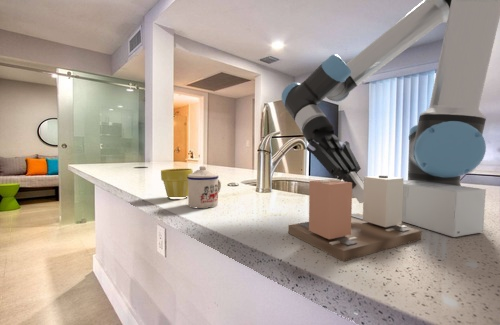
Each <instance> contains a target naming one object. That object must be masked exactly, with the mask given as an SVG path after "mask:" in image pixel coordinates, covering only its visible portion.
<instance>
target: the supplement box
mask: <svg viewBox="0 0 500 325" xmlns="http://www.w3.org/2000/svg"><path fill="white" fill-rule="evenodd" d="M486 191H487V189H486V188H485V189H484V188H479V187H473V186H472V187H471V186H464V185H461V186H457V185H449V184H441V183H434V182H426V181H418V180H408V179H407V180H403V206H402V223H406V224H410V225H413V226H416V227H419V228H422V229H426V230H429V231H432V232H435V233H439V234H442V235H446V236H449V237H452V238H456V237H457V238H458V237H462V236H467V235H474V234H480V233H484V228H485V227H484V225H485V222H484V221H485V206H486V204H485V203H486V193H487V192H486Z"/></svg>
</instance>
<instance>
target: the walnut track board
mask: <svg viewBox="0 0 500 325" xmlns="http://www.w3.org/2000/svg"><path fill="white" fill-rule="evenodd" d="M287 228H288V229H287V230H288V231H287V232H288V234H290V235H292V236H294V237H296V238H298V239H300V240H301V241H303V242H305V243H307V244H309V245H311V246H313V247H315V248H317V249H319V250H321V251H323V252H325V253H327V254H328V255H330V256H333V257H334V258H336V259H338V260H340V261H342V262H347V261H349V260H353V259H357V258H360V257H363V256H367V255H370V254H374V253H378V252H380V251H384V250H389V249H391V248H394V247H398V246H403V245H405V244H409V243H413V242H417V241H419V240H421V239H422V230H420V229H416V228H412V227H409V226H407V225H404V224H403V225H402V224H398V225H393V226H389V227H383V226H380V225H376V224H373V223H370V222H366V221H363V213H358V212H356V213H351V235H347V236H343V237H338V238H334V239H327V238H325V237H322V236H320V235H318V234H316V233H313V232H311V231H309V221H304V222H300V223H292V224H288V227H287Z"/></svg>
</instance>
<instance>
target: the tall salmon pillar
mask: <svg viewBox="0 0 500 325" xmlns="http://www.w3.org/2000/svg"><path fill="white" fill-rule="evenodd" d="M308 185H309V192H308V195H309V196H308V202H309V203H308V222H309V231H311V232H313V233H316V234H318V235H320V236H322V237H325V238H327V239H334V238H338V237H343V236H347V235H351V214H353V213H352V208H353V207H352V206H353V201H352V200H353V193H352V183H351V182H345V181H343V180H341V181H340V180H339V179H337V178H331V179H330V178H329V179H320V180H319V179H317V180H316V179H315V180H309V184H308Z"/></svg>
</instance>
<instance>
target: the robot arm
mask: <svg viewBox="0 0 500 325" xmlns="http://www.w3.org/2000/svg"><path fill="white" fill-rule="evenodd" d="M499 22H500V0H423V1H421V2H420V3H419V4H418V5H416V6H415V7H414V8H413V9H411V11H409V12H408V13H406V14H405V15H404V16H403V17H402V18H400V19H399V20H398V21H397V22H396V23H395V24H393V25H392V26H390V28H388V29H387V30H386V31H384V32H383V33H382V34H381V35H379V37H377V38H376V39H374V41H372V42H371V43H370V44H369V45H367V46H366V47H365V48H364V49H362V50H361V51H360V52H359V53H357V55H355V56H354V57H352V58H351V59H349V61H348V62H347V63H346V62H345V61H344V60H343V59H342V58H341V57H340V56H339V55H338V54H336V53H333V54H331V55H330V56H328V57H327V58H326V60H324V61H322V62H321V64H320V65H319V66H318V67H317V68H316V69H314V71H313V72H312V73H311V74H310V75H309V76H308V77H307V78H306V79H305V80H303V82H301V83H300V82H292V83H290V84H288V85H286V86H285V87H284V88H283V90H282V92H281V98H280V99H281V101H282V103H283V105H284V108H285V109H286V111H287V112H288V113H289V115H290V116H291V118H292V120H294V123H295V124H296V125H297V127H298V129H299V130H300V132H301V133H302V136H304V138H305V140H306V141H307V143H308V144H307V146H306V147H305V148H306V149H305V150H307V151H308V152H309V153H311V154H312V155H313V156H314V157H315V159H316V160H318V162H320V164H321V165H322V166H323V167H324V168H325V170H326V171H327V172H328V173H329V174H330V175H331V176H332V177H335V178H336V177H337V178H336V179H339V180H340V181H345V182H351V183H352V195H353V196H354V197H355V199H356V200H357V201H358V203H359V204H363V189H364V180H363V179H362V178H361V177H360V176H359V175H358V173H359V171H360V170H362V168H361V165H360V164H359V162H358V160H357V158H356V157H355V155H354V153H353V150H352V149H351V145H350V142H349V141H347V140H345V141H343V142H342V141H340V138H339V136H338V137H337V135H335V128H334V125H333V124H332V123H331V122H332V121H330V120H329V119H328V118H327V115H326V114H325V113H324V111H322V109H321V108H320V107H319V106H318V104H320V103H322V102H323V100H324V99H328V100H329V101H331V102H336V103H337V102H338V103H339V102H342V101H344V100H346V98H348V96H349V95H350V92H351V91H353V90H354V89H355V88H357V87H358V86H360V85H361V83H363V82H365V81H366V80H367V79H369V77H371V76H372V75H374V74H375V73H377V72H378V71H379V70H380V69H381V68H383V67H385V65H388V63H390V62H391V61H392V60H393V59H395V58H397V57H398V56H399V55H400V54H401V53H404V51H405V50H408V48H410V47H411V46H412V45H414V44H415V43H416V42H418V41H419V40H420V39H422V38H423V37H424V36H426V35H427V34H428V33H430V32H431V31H432V30H433V29H435V28H437V27H438V26H439V25H440V24H445V23H446V26H445V31H444V34H443V41H442V45H441V50H440V54H439V59H438V64H437V69H436V74H435V78H434V83H433V89H432V92H431V93H432V94H431V98H430V102H429V106H428V108H427V109H426V110H424V111H423V112H422V113H420V114H419V117H418V121H417V124H416V125H414V126H412V127H411V128H410V130H409V135H408V140H409V141H408V143H409V144H408V165H407V166H408V167H407V168H408V170H407V171H408V172H407V180H418V181H426V182H434V183H441V184H449V185H457V186H462V185H461V176H464V175H466V174H468V173H470V172H472V171H474V170H475V169H476V168H478V167H479V165H480V164H481V163H482V161H483V159H484V157H485V155H486V152H487V150H486V149H487V146H486V140H485V137H484V136H483V133H484V129H485V125H486V121H487V117H486V116H485V114H483V112H482V111H480V109H479V108H480V105H481V101H482V100H481V99H482V95H483V91H484V86H485V82H486V78H487V74H488V70H489V64H490V61H491V57H492V53H493V48H494V44H495V40H496V35H497V32H498V28H499Z"/></svg>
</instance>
